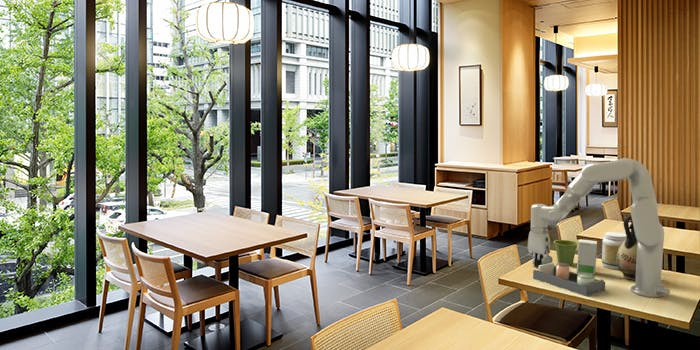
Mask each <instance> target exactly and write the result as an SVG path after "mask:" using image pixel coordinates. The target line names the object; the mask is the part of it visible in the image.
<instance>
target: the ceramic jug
mask: <svg viewBox="0 0 700 350" xmlns="http://www.w3.org/2000/svg"><path fill="white" fill-rule="evenodd" d="M629 221H631V223H629ZM622 224H623V229H624V231H625V234H626V236H627V237H626V240H625V241H624V242H623V244H622V245H621V246H620V248H619V249H618V252H617V256H616V264H617V267H618V268H619V271H620V272H621V273H622V275H623V277H624V279H628V280H634V281H635V279H636V259H637V243H638V241H637V239H636V236H635V231H634V226H633V221H632V217H631V214H630V215H629V214H628V215H626V216H625V217H624V218H623V223H622Z"/></svg>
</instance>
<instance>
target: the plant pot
mask: <svg viewBox="0 0 700 350" xmlns="http://www.w3.org/2000/svg"><path fill="white" fill-rule="evenodd" d="M553 244H554V246H555V247H554V248H555V250H556V251H555V253H556V259H557V263H558V262H565V263H568V264H569V266H571V265H573V264H574V262H575V261H574V259H575V255H576V251H577V249H578V246H579V242H577V241H574V240H569V239H558V240H554V241H553Z"/></svg>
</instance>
